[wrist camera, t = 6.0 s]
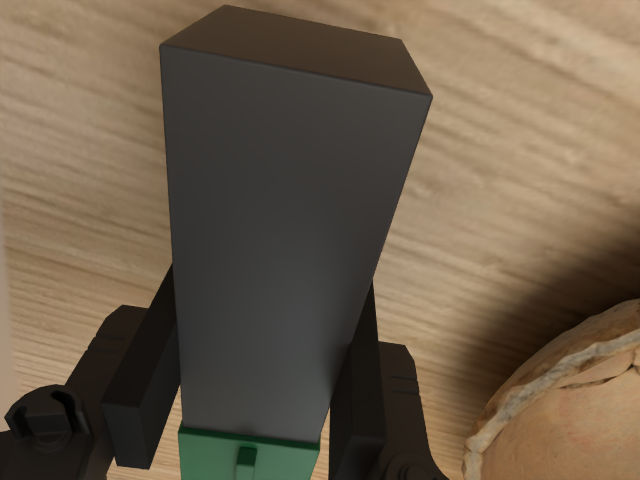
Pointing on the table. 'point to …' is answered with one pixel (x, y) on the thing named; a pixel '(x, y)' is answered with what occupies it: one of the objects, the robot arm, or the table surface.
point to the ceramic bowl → (567, 408)
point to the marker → (276, 223)
